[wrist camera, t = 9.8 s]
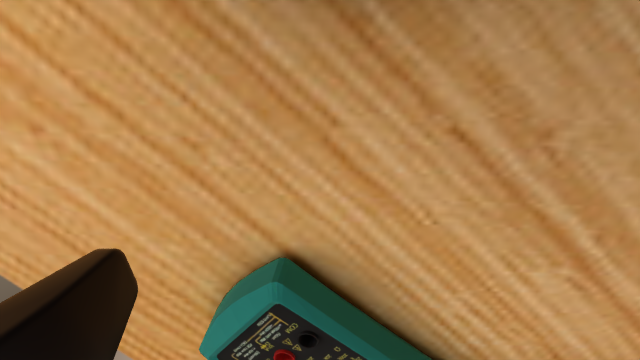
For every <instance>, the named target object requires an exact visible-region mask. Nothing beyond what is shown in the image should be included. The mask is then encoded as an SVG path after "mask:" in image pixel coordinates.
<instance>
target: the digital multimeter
mask: <svg viewBox="0 0 640 360" xmlns="http://www.w3.org/2000/svg"><path fill="white" fill-rule="evenodd" d="M199 350H200V353H201V354H202V355H203V356H204V357H206V358H207V359H208V360H432V359H431V358H429V357H428V356H426V355H425V354H423V353H422V352H420V351H419V350H417V349H416V348H415V347H413V346H412V345H410V344H409V343H407V342H406V341H404V340H403V339H401V338H400V337H398V336H397V335H395V334H394V333H393V332H391V331H390V330H388V329H387V328H385V327H384V326H382V325H381V324H379V323H378V322H376V321H375V320H373V319H372V318H371V317H369V316H368V315H366V314H365V313H363V312H362V311H361V310H359V309H358V308H356V307H355V306H353V305H352V304H350V303H349V302H348V301H346V300H345V299H343V298H342V297H340V296H339V295H337V294H336V293H335V292H333V291H332V290H330V289H329V288H327V287H326V286H325V285H323V284H322V283H321V282H319V281H318V280H316V279H315V278H314V277H312V276H311V275H310V274H308V273H307V272H306V271H304V270H303V269H302V268H300V267H299V266H298V265H296V264H295V263H294V262H292V261H291V260H289V259H287V258H278V259H276V260H274V261H272V262H270V263H268V264H267V265H265V266H263V267H261V268H259V269H257V270H256V271H254V272H253V273H251V274H249V275H248V276H246V277H245V278H243V279H242V280H240V281H239V282H238V283H237V284H236V285H235V286H234V287H233V288H232V289H231V290H230V291H229V292H228V293H227V294H226V296H225V297H224V299H223V300H222V302H221V304H220V305H219V307H218V308H217V311H216V313H215V315H214V317H213V319H212V321H211V323H210V325H209V328H208V330H207V332H206V334H205V337H204V339H203V341H202V343H201V346H200V348H199Z"/></svg>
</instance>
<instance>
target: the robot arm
mask: <svg viewBox="0 0 640 360" xmlns="http://www.w3.org/2000/svg"><path fill="white" fill-rule="evenodd" d="M137 293H138V285H137V281H136V279H135V277H134V274H133V272H132V270H131V268H130V265H129V263H128V261H127V259H126V256H125V254H124V253H123V252H122V251H121V250H119V249H97V250H94V251H92V252H90V253H89V254H87V255H85V256H83V257H81V258H80V259H78V260H76V261H74V262H73V263H71V264H69V265H67V266H65V267H64V268H62V269H60V270H58V271H56V272H55V273H53V274H51V275H49V276H48V277H46V278H44V279H42V280H40V281H39V282H37V283H35V284H33V285H31V286H30V287H28V288H26V289H24V290H23V291H21V292H19V293H17V294H15V295H14V296H12V297H10V298H8V299H6V300H5V301H3V302H1V303H0V360H113V359H114V357H115V354H116V351H117V349H118V346H119V343H120V341H121V338H122V335H123V333H124V330H125V327H126V325H127V322H128V319H129V316H130V314H131V311H132V308H133V306H134V303H135V300H136V298H137Z"/></svg>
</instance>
